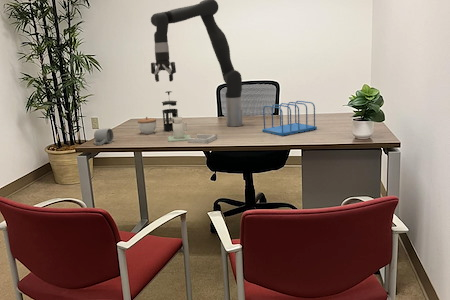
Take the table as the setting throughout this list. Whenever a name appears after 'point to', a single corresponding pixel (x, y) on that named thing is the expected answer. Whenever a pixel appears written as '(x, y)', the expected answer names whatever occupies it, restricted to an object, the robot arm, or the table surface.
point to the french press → (174, 112)
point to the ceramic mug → (103, 136)
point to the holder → (205, 137)
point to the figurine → (179, 128)
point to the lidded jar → (147, 125)
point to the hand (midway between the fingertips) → (164, 81)
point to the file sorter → (290, 127)
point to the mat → (171, 139)
